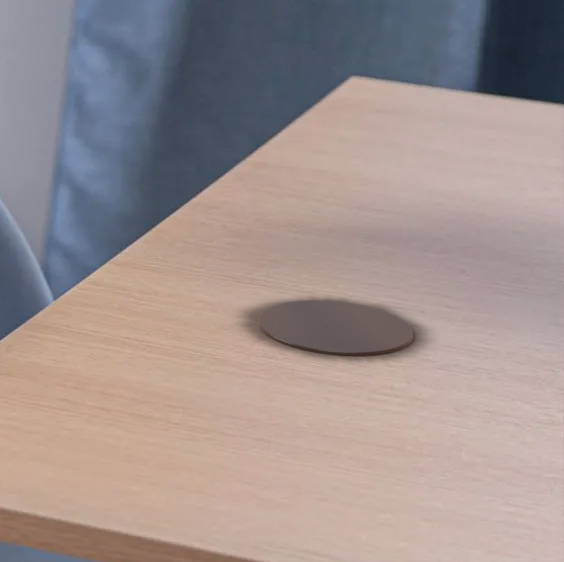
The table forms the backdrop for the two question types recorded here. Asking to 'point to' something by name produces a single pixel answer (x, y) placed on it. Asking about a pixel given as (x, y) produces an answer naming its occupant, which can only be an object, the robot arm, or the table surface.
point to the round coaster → (335, 328)
